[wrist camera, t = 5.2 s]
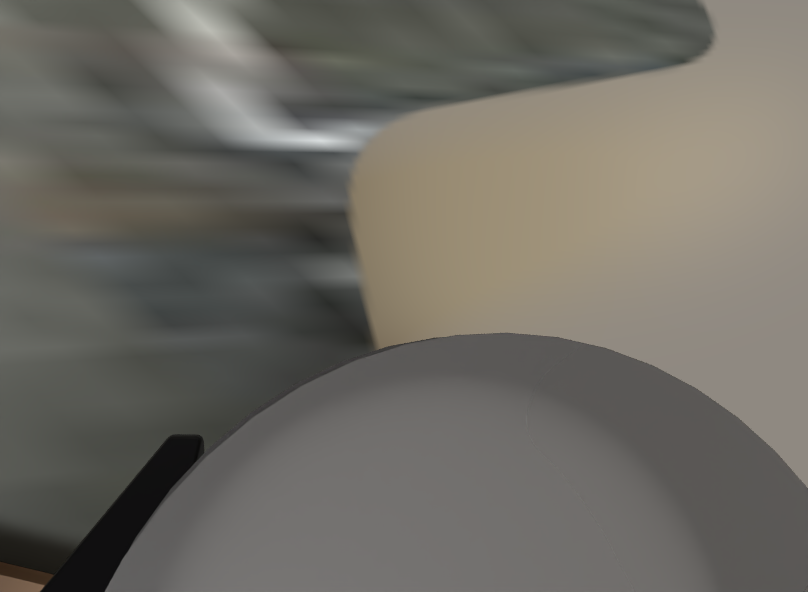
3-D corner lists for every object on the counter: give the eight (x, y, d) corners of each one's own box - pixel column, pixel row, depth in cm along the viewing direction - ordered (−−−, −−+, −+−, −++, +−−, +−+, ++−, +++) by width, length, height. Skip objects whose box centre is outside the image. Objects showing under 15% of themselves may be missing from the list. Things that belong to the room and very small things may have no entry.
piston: (454, 431, 17) (956, 444, 4) (406, 632, 16) (883, 1439, 3) (268, 380, 16) (211, 220, 4) (206, 584, 15) (-172, 1327, 3)
